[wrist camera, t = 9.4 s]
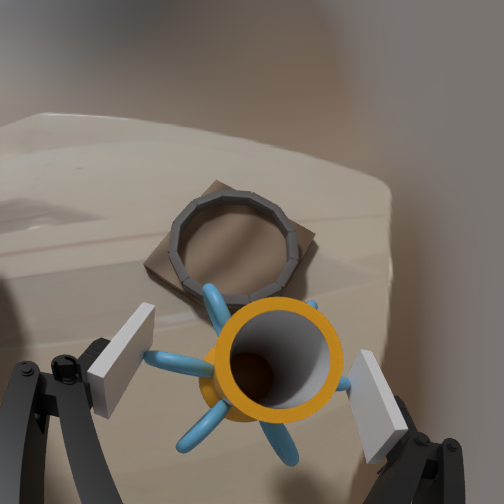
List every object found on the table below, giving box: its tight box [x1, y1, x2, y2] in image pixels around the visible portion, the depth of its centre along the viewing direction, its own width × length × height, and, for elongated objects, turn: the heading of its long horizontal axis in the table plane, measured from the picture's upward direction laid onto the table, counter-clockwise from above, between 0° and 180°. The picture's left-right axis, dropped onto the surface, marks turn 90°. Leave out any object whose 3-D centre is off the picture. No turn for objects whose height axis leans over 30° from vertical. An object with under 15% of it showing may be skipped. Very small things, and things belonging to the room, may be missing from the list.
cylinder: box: [144, 283, 350, 466], centre depth 15 cm, size 12×10×15 cm
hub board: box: [144, 180, 315, 317], centre depth 41 cm, size 18×18×4 cm
